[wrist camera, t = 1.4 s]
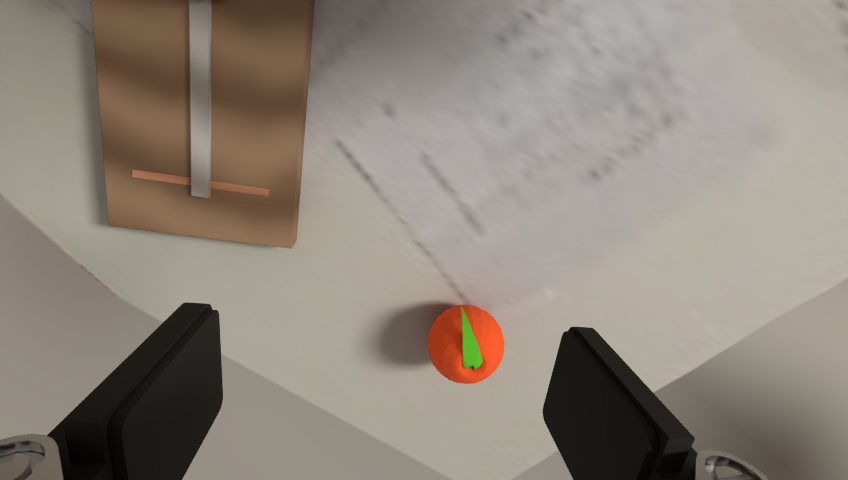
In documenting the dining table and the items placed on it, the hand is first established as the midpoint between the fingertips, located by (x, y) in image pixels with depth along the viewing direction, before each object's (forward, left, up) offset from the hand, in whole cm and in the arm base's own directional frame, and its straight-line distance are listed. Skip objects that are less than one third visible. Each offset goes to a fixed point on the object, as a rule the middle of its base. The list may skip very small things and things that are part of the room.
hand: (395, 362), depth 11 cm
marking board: (-6, -14, -25) cm, 29 cm away
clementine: (+12, +9, -25) cm, 29 cm away
